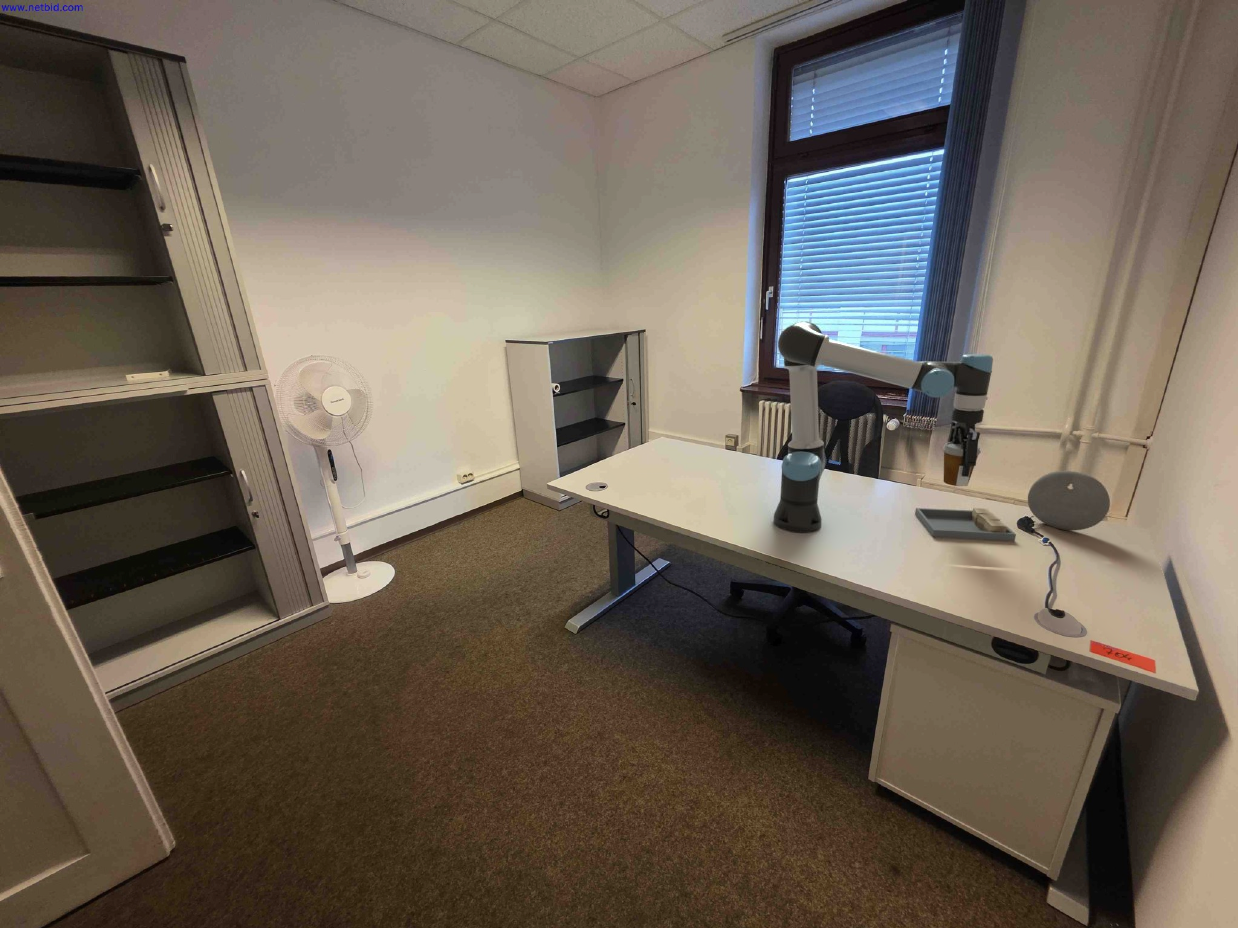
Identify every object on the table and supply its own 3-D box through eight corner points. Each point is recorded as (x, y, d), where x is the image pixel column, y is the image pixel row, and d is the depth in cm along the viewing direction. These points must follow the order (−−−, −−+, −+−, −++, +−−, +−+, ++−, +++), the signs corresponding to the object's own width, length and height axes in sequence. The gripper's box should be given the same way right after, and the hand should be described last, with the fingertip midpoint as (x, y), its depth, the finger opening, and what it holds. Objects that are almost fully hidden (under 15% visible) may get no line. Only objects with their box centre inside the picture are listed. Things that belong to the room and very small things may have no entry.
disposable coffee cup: (980, 488, 145) (987, 450, 142) (944, 488, 147) (951, 450, 144) (965, 477, 154) (972, 441, 150) (932, 477, 156) (938, 441, 152)
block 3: (989, 537, 147) (991, 525, 146) (983, 531, 151) (985, 519, 150) (1004, 538, 147) (1007, 526, 145) (997, 532, 150) (1000, 520, 149)
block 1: (974, 524, 156) (976, 512, 155) (971, 519, 160) (973, 507, 158) (989, 525, 155) (992, 514, 153) (985, 520, 158) (988, 509, 157)
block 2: (984, 531, 151) (986, 519, 150) (976, 525, 155) (978, 514, 154) (997, 531, 151) (1000, 519, 150) (989, 525, 155) (991, 514, 153)
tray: (932, 538, 150) (933, 529, 149) (914, 516, 165) (915, 508, 164) (1014, 543, 145) (1016, 534, 144) (988, 519, 160) (989, 511, 159)
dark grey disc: (1101, 533, 148) (1118, 475, 142) (1099, 541, 143) (1117, 482, 137) (1024, 516, 161) (1036, 462, 155) (1020, 524, 156) (1032, 468, 150)
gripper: (1000, 416, 133) (985, 493, 140) (968, 400, 152) (955, 469, 159) (969, 416, 135) (955, 492, 142) (940, 401, 154) (930, 469, 161)
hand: (955, 480), depth 151 cm, fingers closed on disposable coffee cup, 8 cm apart
